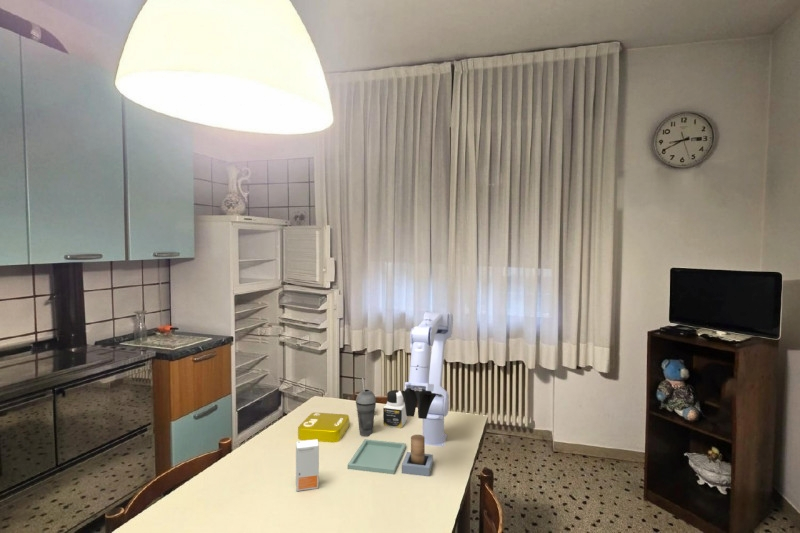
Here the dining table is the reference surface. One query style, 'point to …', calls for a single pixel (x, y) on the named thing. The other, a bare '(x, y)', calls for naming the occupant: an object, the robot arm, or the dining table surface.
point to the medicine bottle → (394, 410)
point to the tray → (377, 456)
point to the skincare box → (307, 465)
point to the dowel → (418, 449)
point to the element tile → (323, 427)
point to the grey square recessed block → (417, 469)
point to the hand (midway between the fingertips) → (416, 417)
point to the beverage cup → (365, 411)
